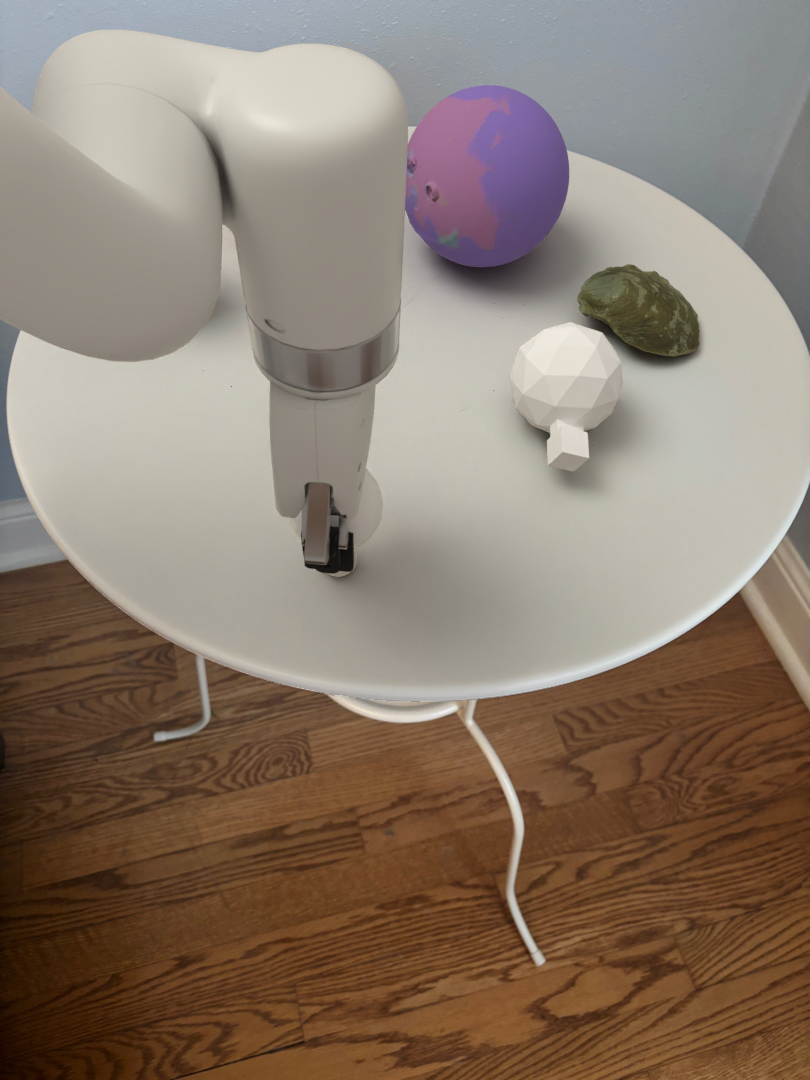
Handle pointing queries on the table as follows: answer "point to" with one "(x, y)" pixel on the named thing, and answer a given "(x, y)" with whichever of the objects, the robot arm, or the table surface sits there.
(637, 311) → the seashell
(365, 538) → the lightbulb
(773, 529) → the table surface
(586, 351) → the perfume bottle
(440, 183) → the decorative ball
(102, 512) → the table surface
